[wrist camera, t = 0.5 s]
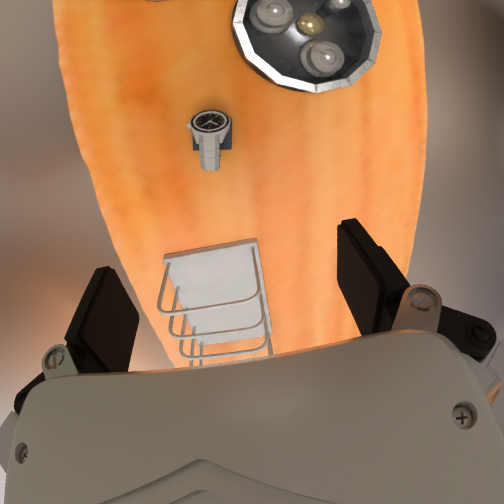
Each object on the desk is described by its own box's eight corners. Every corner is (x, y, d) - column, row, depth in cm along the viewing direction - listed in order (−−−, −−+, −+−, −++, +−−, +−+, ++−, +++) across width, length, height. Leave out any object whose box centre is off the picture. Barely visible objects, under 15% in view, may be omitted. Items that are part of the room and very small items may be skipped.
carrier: (200, 31, 32) (196, 23, 27) (297, -49, 24) (307, -64, 19) (308, 119, 41) (320, 125, 36) (392, 39, 33) (413, 37, 28)
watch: (231, 105, 39) (233, 113, 30) (230, 155, 44) (232, 178, 34) (193, 106, 39) (183, 114, 30) (195, 156, 43) (186, 179, 34)
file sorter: (271, 328, 66) (281, 385, 53) (199, 339, 67) (197, 395, 54) (256, 237, 52) (267, 295, 39) (163, 253, 53) (147, 313, 40)
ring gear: (204, 29, 31) (202, 25, 29) (299, -50, 23) (304, -57, 21) (310, 116, 40) (316, 119, 37) (393, 38, 32) (403, 37, 30)
